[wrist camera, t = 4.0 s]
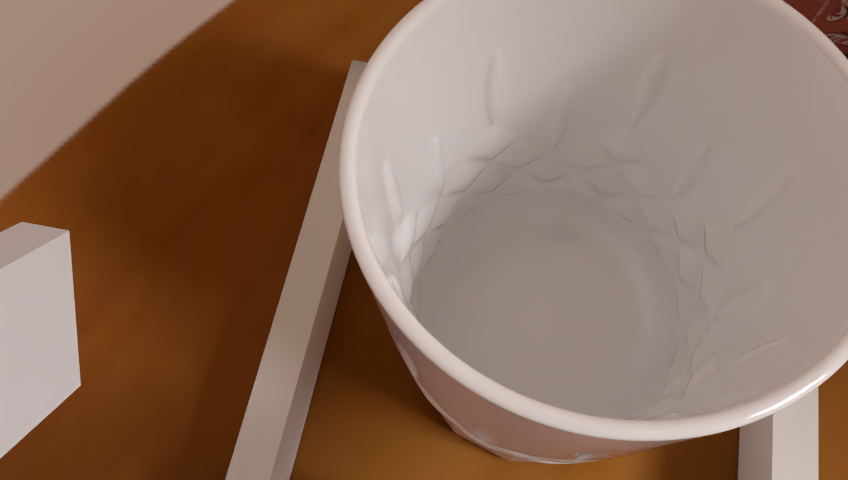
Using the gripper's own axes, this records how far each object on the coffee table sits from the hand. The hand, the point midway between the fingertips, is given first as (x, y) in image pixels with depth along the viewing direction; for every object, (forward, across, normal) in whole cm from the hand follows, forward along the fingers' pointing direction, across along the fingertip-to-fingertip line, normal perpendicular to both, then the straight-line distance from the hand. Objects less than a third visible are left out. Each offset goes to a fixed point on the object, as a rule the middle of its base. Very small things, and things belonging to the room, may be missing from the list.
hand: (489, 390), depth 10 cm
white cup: (+8, +1, -4) cm, 9 cm away
